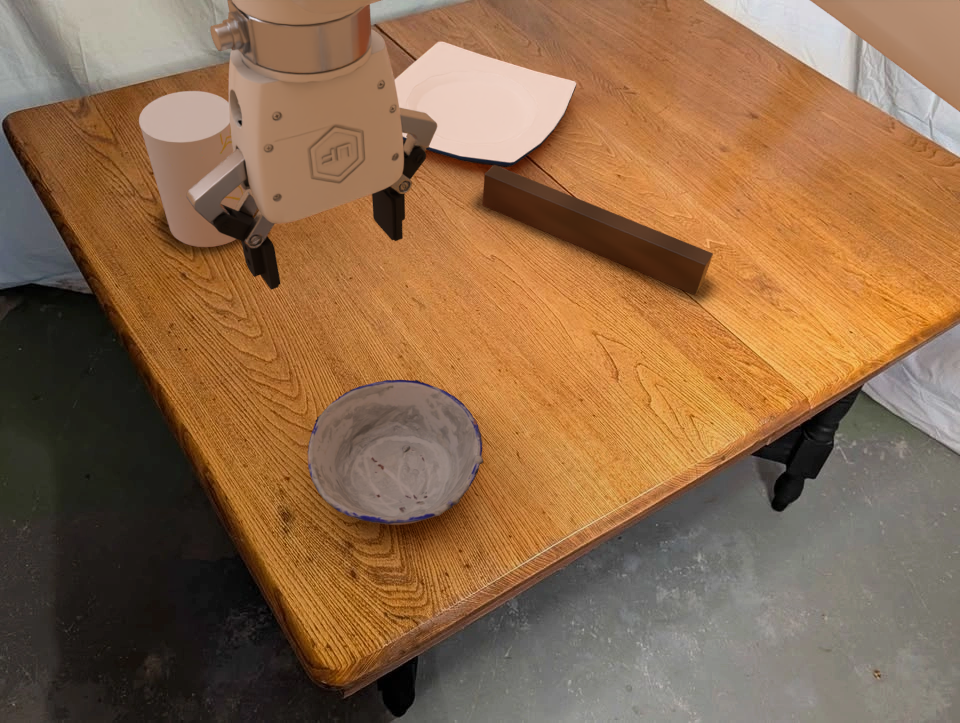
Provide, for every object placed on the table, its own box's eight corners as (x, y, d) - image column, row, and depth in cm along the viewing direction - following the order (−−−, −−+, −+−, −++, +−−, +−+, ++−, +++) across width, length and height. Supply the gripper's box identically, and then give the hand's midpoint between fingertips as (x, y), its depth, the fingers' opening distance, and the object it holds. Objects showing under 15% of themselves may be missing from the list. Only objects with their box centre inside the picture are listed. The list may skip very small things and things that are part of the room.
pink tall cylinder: (256, 240, 84) (236, 136, 75) (170, 252, 82) (139, 147, 73) (248, 190, 89) (229, 87, 80) (167, 200, 87) (138, 95, 78)
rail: (702, 283, 83) (713, 253, 80) (695, 295, 82) (705, 265, 79) (491, 195, 90) (494, 164, 87) (482, 205, 89) (484, 173, 86)
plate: (584, 100, 103) (587, 80, 101) (514, 191, 91) (517, 170, 89) (436, 55, 108) (436, 35, 106) (351, 135, 96) (349, 114, 94)
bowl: (467, 407, 71) (470, 370, 68) (491, 544, 63) (495, 510, 59) (311, 420, 70) (305, 383, 66) (314, 562, 61) (308, 529, 58)
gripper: (181, 98, 43) (237, 331, 55) (468, 17, 49) (458, 241, 62) (129, 32, 46) (193, 264, 59) (402, -34, 53) (406, 186, 66)
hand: (329, 252), depth 61 cm, fingers open, 9 cm apart
